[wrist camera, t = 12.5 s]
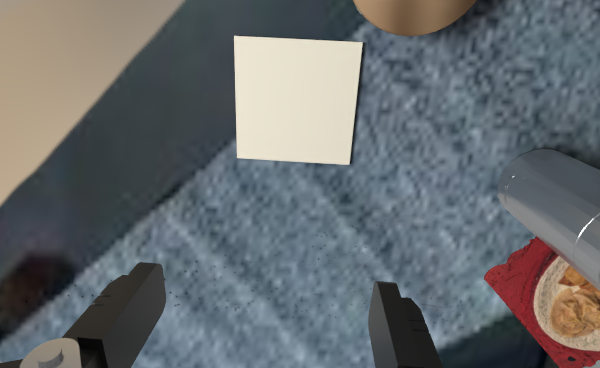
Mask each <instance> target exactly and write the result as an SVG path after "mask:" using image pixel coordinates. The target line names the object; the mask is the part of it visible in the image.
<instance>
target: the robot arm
mask: <svg viewBox="0 0 600 368" xmlns="http://www.w3.org/2000/svg"><path fill="white" fill-rule="evenodd" d="M497 190H498V197H499V200H500V202H501V204H502V205H503V207H504V208H506V209H507V210H508V211H509V212H510V213H511V214H512V215H513V216H515V217H516V218H517V219H518V220H519V221H520V222H521V223H522V224H523V225H525V226H526V227H527V228H528V229H529V230H530V231H531V232H532V233H534V234H535V235H536V236H537V237H538V238H539V239H540V240H542V241H543V242H544V243H545V244H546V245H547V246H548V247H550V248H551V249H552V250H553V251H554V252H555V253H556V254H558V255H559V256H560V257H561V258H562V259H563V260H564V261H566V262H567V263H568V264H569V265H570V266H571V267H572V268H574V269H575V270H576V271H577V272H578V273H579V274H580V275H581V276H583V277H584V278H585V279H586V280H587V281H589V282H590V283H591V284H592V285H593V286H594V287H595V288H597V289H598V290H599V291H600V170H599V169H596V168H594V167H592V166H590V165H587V164H585V163H583V162H581V161H579V160H577V159H574V158H572V157H570V156H568V155H565V154H563V153H561V152H558V151H555V150H551V149H539V150H534V151H530V152H527V153H525V154H523V155H521V156H519V157H518V158H516V159H515V160H514V161H512V162H511V163H510V164H509V165H508V166H507V167H506V169H505V170H504V172H503V173H502V175H501V177H500V179H499V182H498V188H497ZM165 302H166V293H165V284H164V276H163V268H162V265H161V264H155V263H142V262H140V263H138V264H137V265H136V266H135V267H134V269H133V270H132V271H131V272H130V273H129V275H122V276H120V277H119V278H117V279H116V280H114V281H112V282H111V283H109V284H108V285H107V287H106V288H105V289H104V290H103V291H102V292H101V294H100V296H98V297H97V298H96V299H95V300H94V302H93V303H92V305H90V306H89V307H88V308H87V310H86V311H85V312H84V313H83V314H82V315H81V316H80V318H79V319H78V320H77V321H76V322H75V323H74V324H73V326H72V327H71V328H70V329H69V330H68V331H67V332H66V334H65V335H64V336H63V337H62V338H59V339H54V340H51V341H48V342H46V343H44V344H42V345H40V346H38V347H36V348H35V349H34V350H32V351H31V352H30V353H29V354H28V355H27V356H26V357H25V358H24V359H21V360H16V361H10V362H4V363H0V368H131V366H132V365H133V363H134V361H135V360H136V358H137V356H138V354H139V353H140V351H141V349H142V347H143V346H144V344H145V342H146V341H147V339H148V337H149V335H150V334H151V332H152V330H153V328H154V327H155V325H156V323H157V322H158V320H159V318H160V316H161V315H162V313H163V310H164V307H165ZM368 325H369V334H370V339H371V345H372V351H373V356H374V362H375V367H376V368H443V366H442V364H441V361H440V359H439V356H438V353H437V351H436V348H435V346H434V343H433V341H432V338H431V335H430V334H429V330H428V328H427V325H426V323H425V320H424V317H423V315H422V312H421V310H420V308H419V307H418V306H417V305H416V304H415V303H414V302H413V300H412V299H411V298H401V295H400V292H399V289H398V286H397V284H396V283H392V282H379V281H375V283H374V287H373V293H372V298H371V304H370V310H369V318H368Z"/></svg>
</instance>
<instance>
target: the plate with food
mask: <svg viewBox="0 0 600 368" xmlns="http://www.w3.org/2000/svg"><path fill="white" fill-rule="evenodd" d="M529 241H530V244H529V245H527V246H524V248H523V249H519V250H518V251H515V252H514V253H512V254H511V255H510V257H509V258H508V260H507V263H506V264H502V265H498V266H495V267H493V268H491V269H490V270H489V271H488V272H487V273H486V275H485V276H484V279H485V280H486V281H487V283H488V284H489V285H490V286H491V287H492V288H493V289H494V291H495V292H496V293H497V294H498V295H499V296H500V298H501V299H502V300H503V301H504V302H505V303H506V305H507V306H508V307H509V308H510V310H511V311H512V312H513V313H514V315H516V317H517V318H518V319H519V320H520V322H521V323H522V324H523V325H524V326H525V327H526V328H527V330H528V331H529V332H530V333H531V334H532V336H533V337H534V338H535V339H536V340H537V341H538V342H539V344H540V345H541V346H542V347H543V349H544V350H545V351H546V352H547V353H548V354H549V355H550V357H551V358H552V359H553V360H554V361H555V363H556V364H557V365H558V366H559V367H560V368H583V367H584V366H588V367H591V366H593V365H595V363H596V361H597V360H600V291H599V290H598V289H597V288H595V287H594V286H593V285H592V284H591V283H590V282H589V281H587V280H586V279H585V278H584V277H583V276H581V275H580V274H579V273H578V272H577V271H576V270H575V269H574V268H572V267H571V266H570V265H569V264H568V263H567V262H566V261H564V260H563V259H562V258H561V257H560V256H559V255H558V254H556V253H555V252H554V251H553V250H552V249H551V248H550V247H548V246H547V245H546V244H545V243H544V242H543V241H542V240H540V239H539V238H538V237H537V236H536V237H535V239H531V240H529ZM569 356H571V357H573V358H575V359H576V361H573V362H572V361H569V360H568V357H569Z"/></svg>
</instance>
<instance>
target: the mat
mask: <svg viewBox="0 0 600 368" xmlns="http://www.w3.org/2000/svg"><path fill="white" fill-rule="evenodd" d="M362 44H363V42H345V41H325V40H305V39H286V38H266V37H246V36H234V51H235V90H236V129H237V158H246V159H263V160H279V161H295V162H312V163H328V164H344V165H349V163H350V154H351V145H352V136H353V127H354V117H355V108H356V99H357V90H358V81H359V72H360V62H361V53H362Z"/></svg>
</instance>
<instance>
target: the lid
mask: <svg viewBox="0 0 600 368" xmlns="http://www.w3.org/2000/svg"><path fill="white" fill-rule="evenodd" d="M476 1H477V0H353V2H354V4H355V5H356V7H357V8H358V10H359V11H360V12H361V14H362V15H363V16H364V17H365V18H366V19H367V20H368V21H369V22H371V23H372V24H373V25H375V26H376V27H378V28H379V29H381V30H384V31H386V32H388V33H392V34H395V35H402V36H417V35H423V34H428V33H432V32H435V31H438V30H440V29H442V28H444V27H446V26H448V25H450V24H451V23H453V22H455V21H456V20H457V19H458V18H460V17H461V16H462V15H464V14H465V13H466V12H467V11H468V10H469V9H470V8H471V7H472V6H473V4H474V3H475V2H476Z"/></svg>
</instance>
